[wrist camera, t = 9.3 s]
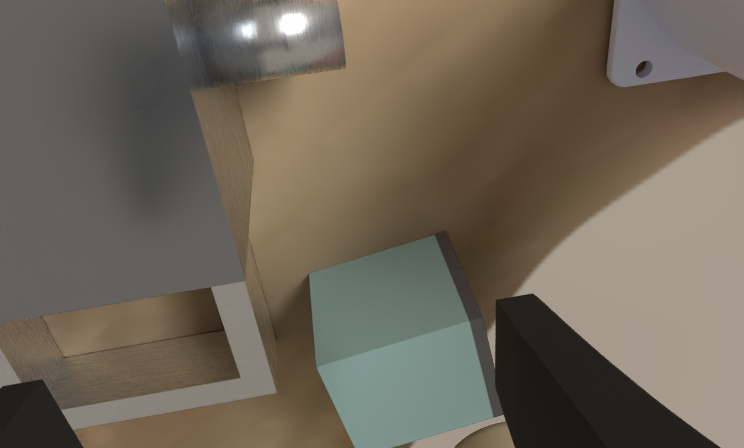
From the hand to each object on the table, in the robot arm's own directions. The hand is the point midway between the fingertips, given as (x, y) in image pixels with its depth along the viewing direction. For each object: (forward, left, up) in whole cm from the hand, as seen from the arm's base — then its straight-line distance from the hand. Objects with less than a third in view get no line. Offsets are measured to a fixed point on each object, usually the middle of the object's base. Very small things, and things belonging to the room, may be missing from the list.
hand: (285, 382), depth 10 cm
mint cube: (0, +8, -8) cm, 11 cm away
